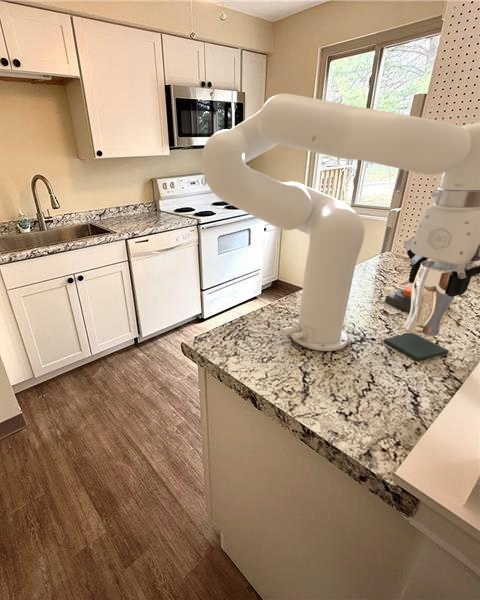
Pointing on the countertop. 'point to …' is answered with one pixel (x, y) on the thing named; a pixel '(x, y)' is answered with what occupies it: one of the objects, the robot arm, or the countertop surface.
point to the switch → (407, 291)
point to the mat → (415, 346)
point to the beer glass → (430, 297)
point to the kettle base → (399, 300)
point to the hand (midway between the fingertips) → (434, 287)
